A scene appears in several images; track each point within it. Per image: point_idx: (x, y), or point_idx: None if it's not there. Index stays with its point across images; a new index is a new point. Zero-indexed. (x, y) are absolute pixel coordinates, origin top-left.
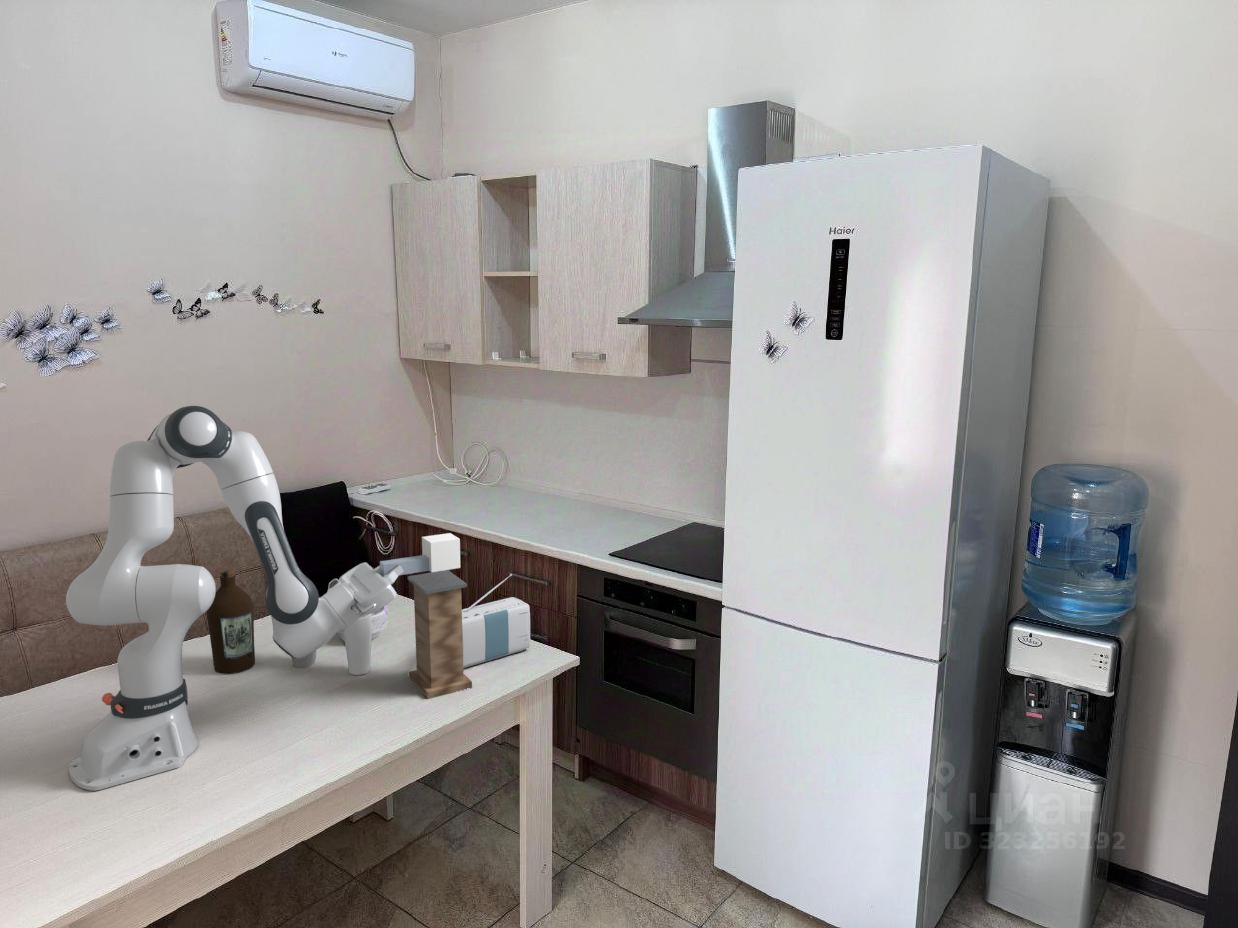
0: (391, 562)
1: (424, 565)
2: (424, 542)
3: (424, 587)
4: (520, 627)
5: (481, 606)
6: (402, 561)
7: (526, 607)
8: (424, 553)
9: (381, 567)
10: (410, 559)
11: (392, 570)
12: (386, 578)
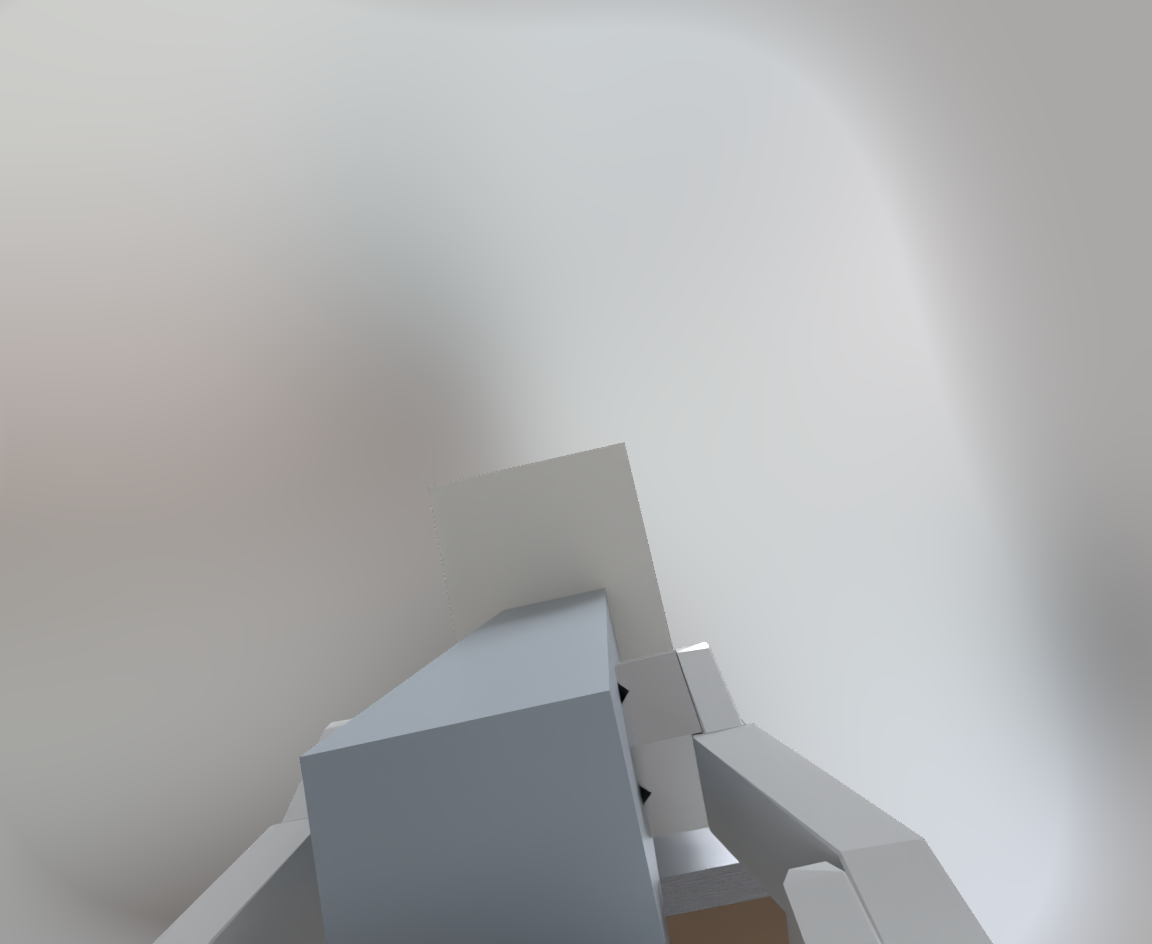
0: (540, 662)
1: (618, 652)
2: (489, 505)
3: (723, 848)
4: None
5: None
6: (580, 626)
7: None
8: (499, 599)
9: (440, 858)
10: (556, 616)
11: (724, 742)
12: (976, 941)
